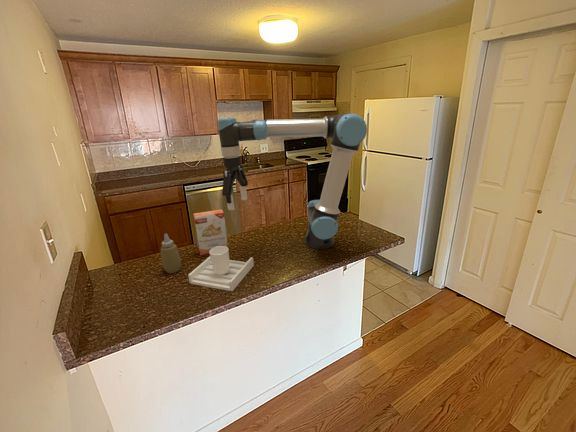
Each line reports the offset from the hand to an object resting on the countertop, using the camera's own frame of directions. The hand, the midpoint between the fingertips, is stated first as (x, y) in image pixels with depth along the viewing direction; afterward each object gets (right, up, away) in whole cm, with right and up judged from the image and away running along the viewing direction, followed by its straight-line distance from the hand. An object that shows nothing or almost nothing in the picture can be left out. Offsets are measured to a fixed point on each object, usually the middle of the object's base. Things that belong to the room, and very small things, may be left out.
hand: (238, 204), depth 124 cm
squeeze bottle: (-30, -30, +2) cm, 42 cm away
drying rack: (-6, -30, -3) cm, 31 cm away
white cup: (-6, -29, -4) cm, 30 cm away
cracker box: (-16, -23, +18) cm, 33 cm away
